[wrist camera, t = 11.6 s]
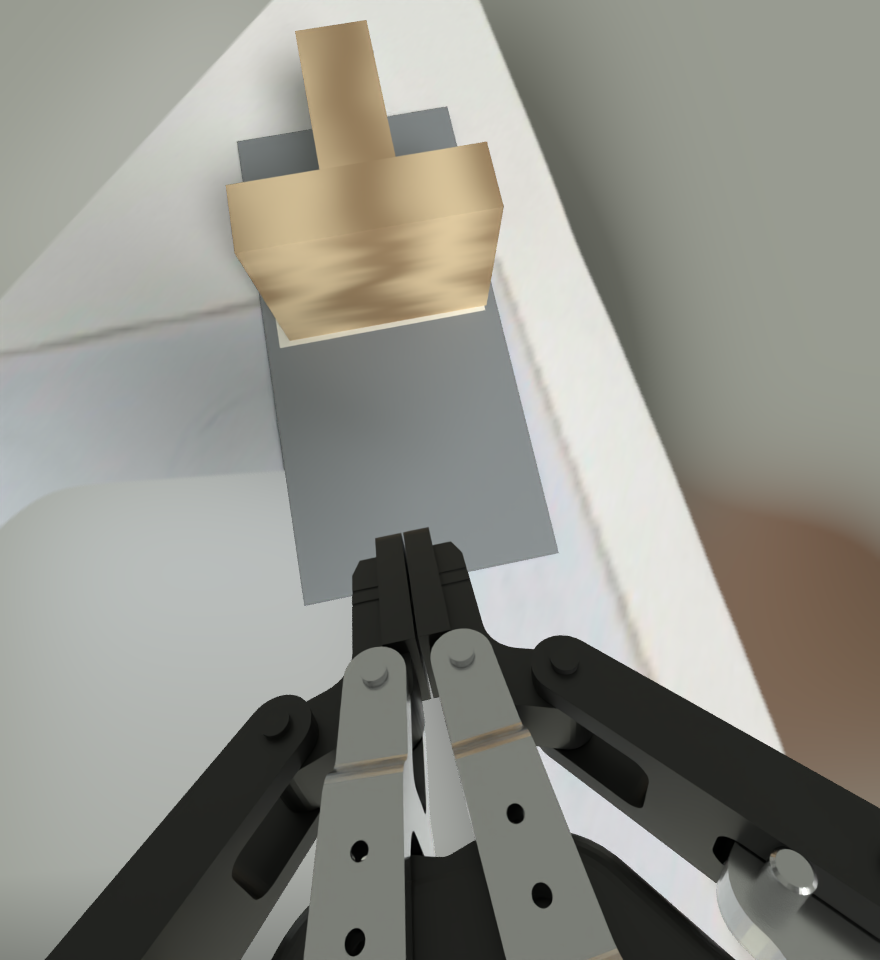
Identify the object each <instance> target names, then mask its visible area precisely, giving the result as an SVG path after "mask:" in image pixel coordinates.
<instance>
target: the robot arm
mask: <svg viewBox="0 0 880 960" xmlns="http://www.w3.org/2000/svg"><path fill="white" fill-rule="evenodd" d="M403 535H404V541H403V537H402V534H401V533H397V534H392V535H388V536H383V537H378V538H375V547H376V557H374V558H370V559H365V560H360V561H359V563H358V565H357V567H356V569H355V571H354V573H353V575H352V593H353V594H352V605H353V607H352V630H353V631H352V640H353V642H352V644H353V646H352V648H353V654H352V661H351V662H350V663H349V665H348V666H347V668H346V671H345V674H344V676H343V678H342V679H341V680H340V681H339V682H338V683H337V684H335V685H334V686H333V687H332V688H330V689H328V690H327V691H325V692H323V693H322V694H320V695H318V696H316V697H314V698H312V699H310V700H309V701H307V702H306V701H305V700H303V699H302V698H301V697H298V696H295V695H283V696H279V697H276V698H274V699H271V700H269V701H268V702H266V703H265V704H263V705H262V706H261V707H260V708H258V709H257V711H256V712H255V713H254V714H253V715H252V716H251V717H250V718H249V720H248V721H247V722H246V723H245V724H244V726H243V727H242V728H241V729H240V730H239V731H238V733H237V734H236V735H235V736H234V737H233V739H232V740H231V741H230V742H229V743H228V744H227V746H226V747H225V748H224V749H223V750H222V752H221V753H220V754H219V755H218V756H217V758H216V759H215V760H214V761H213V762H212V763H211V764H210V766H209V767H208V768H207V769H206V771H205V772H204V773H203V774H202V775H201V776H200V777H199V779H198V780H197V781H196V782H195V783H194V785H193V786H192V787H191V788H190V789H189V790H188V792H187V793H186V794H185V795H184V796H183V798H182V799H181V800H180V801H179V802H178V803H177V805H176V806H175V807H174V808H173V809H172V811H171V812H170V813H169V814H168V815H167V816H166V818H165V819H164V820H163V821H162V822H161V823H160V825H159V826H158V827H157V828H156V829H155V831H154V832H153V833H152V834H151V835H150V836H149V838H148V839H147V840H146V841H145V842H144V843H143V845H142V846H141V847H140V848H139V849H138V850H137V852H136V853H135V854H134V855H133V856H132V858H131V859H130V860H129V861H128V862H127V863H126V865H125V866H124V867H123V868H122V869H121V871H120V872H119V873H118V874H117V875H116V876H115V878H114V879H113V880H112V881H111V882H110V883H109V885H108V886H107V887H106V888H105V889H104V891H103V892H102V893H101V894H100V895H99V897H98V898H97V899H96V900H95V901H94V902H93V904H92V905H91V906H90V907H89V908H88V909H87V911H86V912H85V913H84V914H83V915H82V917H81V918H80V919H79V920H78V921H77V922H76V924H75V925H74V926H73V927H72V928H71V929H70V931H69V932H68V933H67V934H66V935H65V937H64V938H63V939H62V940H61V941H60V943H59V944H58V945H57V946H56V947H55V948H54V950H53V951H52V952H51V953H50V954H49V956H48V957H47V958H46V959H45V960H241V958H242V957H243V955H244V953H245V952H246V950H247V949H248V947H249V945H250V944H251V942H252V941H253V939H254V937H255V936H256V934H257V933H258V931H259V929H260V928H261V926H262V924H263V923H264V921H265V920H266V918H267V917H268V915H269V913H270V912H271V910H272V909H273V907H274V905H275V904H276V902H277V901H278V899H279V897H280V896H281V894H282V892H283V891H284V889H285V888H286V886H287V885H288V883H289V881H290V880H291V878H292V876H293V875H294V873H295V872H296V870H297V869H298V867H299V865H300V864H301V862H302V860H303V859H304V857H305V856H306V854H307V853H308V851H309V849H310V848H311V846H312V845H313V843H314V841H315V840H316V838H317V845H316V853H315V861H314V870H313V879H312V888H311V897H310V905H309V906H308V907H307V908H306V909H305V910H304V912H303V913H302V914H301V915H300V916H299V918H298V919H297V920H296V921H295V922H294V924H293V925H292V927H291V928H290V929H289V931H288V932H287V934H286V935H285V937H284V938H283V940H282V942H281V943H280V945H279V947H278V949H277V950H276V952H275V954H274V956H273V958H272V959H271V960H735V959H734V958H733V957H732V956H730V955H729V954H728V953H727V952H726V951H725V950H724V949H722V948H721V947H720V946H719V945H718V944H717V943H716V942H714V941H713V940H712V939H711V938H710V937H709V936H708V935H706V934H705V933H704V932H703V931H702V930H701V929H700V928H698V927H697V926H696V925H695V924H694V923H693V922H692V921H690V920H689V919H688V918H687V917H686V916H685V915H684V914H682V913H681V912H680V911H679V910H678V909H677V908H676V907H674V906H673V905H672V904H671V903H670V902H669V901H668V900H666V899H665V898H664V897H663V896H662V895H661V894H660V893H658V892H657V891H656V890H655V889H654V888H653V887H652V886H651V885H649V884H648V883H647V882H646V881H645V880H644V879H643V878H641V877H640V876H639V875H638V874H637V873H636V872H635V871H633V870H632V869H631V868H630V867H629V866H628V865H627V864H625V863H624V862H623V861H622V860H621V859H619V858H618V857H617V856H616V855H614V854H613V853H611V852H610V851H609V850H607V849H606V848H604V847H603V846H601V845H599V844H597V843H595V842H593V841H591V840H589V839H587V838H584V837H582V836H579V835H576V834H572V833H570V830H569V828H568V825H567V823H566V820H565V818H564V815H563V813H562V810H561V808H560V805H559V803H558V800H557V798H556V795H555V793H554V790H553V788H552V785H551V783H550V780H549V778H548V775H547V773H546V770H545V768H544V765H543V763H542V760H541V758H540V755H539V753H538V750H537V747H536V746H540V748H541V749H542V750H543V751H544V752H545V753H546V754H547V755H548V756H549V757H551V758H552V759H553V760H555V761H556V762H557V763H559V764H560V765H561V766H563V767H564V768H565V769H567V770H568V771H569V772H571V773H572V774H573V775H574V776H576V777H577V778H578V779H580V780H581V781H582V782H584V783H585V784H586V785H588V786H589V787H590V788H592V789H593V790H594V791H596V792H597V793H598V794H599V795H601V796H602V797H603V798H605V799H606V800H607V801H609V802H610V803H611V804H613V805H614V806H615V807H617V808H618V809H619V810H621V811H622V812H623V813H625V814H626V815H627V816H628V817H630V818H631V819H632V820H634V821H635V822H636V823H638V824H639V825H640V826H642V827H643V828H644V829H646V830H647V831H648V832H650V833H651V834H652V835H653V836H655V837H656V838H657V839H659V840H660V841H661V842H663V843H664V844H665V845H667V846H668V847H669V848H671V849H672V850H673V851H675V852H676V853H677V854H679V855H680V856H681V857H682V858H684V859H685V860H686V861H688V862H689V863H690V864H692V865H693V866H694V867H696V868H697V869H698V870H700V871H701V872H702V873H704V874H705V875H706V876H707V877H709V878H710V879H711V880H713V881H714V882H715V883H717V889H716V893H717V901H718V906H719V909H720V912H721V915H722V917H723V919H724V921H725V923H726V925H727V927H728V929H729V930H730V932H731V933H732V935H733V936H734V937H735V938H736V940H737V941H738V942H739V943H740V944H741V945H742V946H743V947H744V948H745V949H746V950H747V951H748V952H749V953H750V954H751V955H752V956H753V957H754V958H755V959H756V960H880V808H878V807H876V806H875V805H873V804H871V803H869V802H868V801H866V800H864V799H862V798H860V797H858V796H857V795H855V794H853V793H851V792H850V791H848V790H846V789H844V788H843V787H841V786H839V785H837V784H835V783H834V782H832V781H830V780H828V779H826V778H825V777H823V776H821V775H820V774H818V773H816V772H814V771H812V770H810V769H809V768H807V767H805V766H803V765H802V764H800V763H798V762H796V761H795V760H793V759H791V758H789V757H787V756H786V755H784V754H782V753H780V752H779V751H777V750H775V749H773V748H771V747H770V746H768V745H766V744H764V743H763V742H761V741H759V740H757V739H755V738H754V737H752V736H750V735H748V734H747V733H745V732H743V731H741V730H739V729H738V728H736V727H734V726H732V725H731V724H729V723H727V722H725V721H723V720H722V719H720V718H718V717H716V716H715V715H713V714H711V713H709V712H707V711H706V710H704V709H702V708H700V707H699V706H697V705H695V704H693V703H691V702H690V701H688V700H686V699H684V698H682V697H681V696H679V695H677V694H675V693H674V692H672V691H670V690H668V689H666V688H665V687H663V686H661V685H659V684H658V683H656V682H654V681H652V680H650V679H649V678H647V677H645V676H643V675H642V674H640V673H638V672H636V671H634V670H633V669H631V668H629V667H627V666H626V665H624V664H622V663H620V662H618V661H617V660H615V659H613V658H611V657H610V656H608V655H606V654H604V653H602V652H601V651H599V650H597V649H595V648H594V647H592V646H590V645H588V644H586V643H585V642H583V641H581V640H579V639H577V638H574V637H571V636H562V635H559V636H552V637H549V638H547V639H544V640H543V641H541V642H540V643H539V644H538V645H537V646H536V647H535V649H523V648H513V647H508V646H505V645H503V644H500V643H498V642H497V641H495V640H494V639H493V638H491V637H490V636H489V634H488V633H487V632H486V630H485V629H484V626H483V623H482V620H481V616H480V613H479V609H478V606H477V602H476V599H475V595H474V592H473V588H472V585H471V582H470V578H469V574H468V571H467V568H466V564H465V560H464V557H463V553H462V552H461V551H460V550H459V549H458V548H457V547H456V546H455V545H454V544H453V543H452V542H451V541H450V542H445V543H440V544H435V545H432V540H431V536H430V531H429V527H425V528H421V529H416V530H411V531H406V532H403ZM404 542H405V545H404ZM427 674H428V675H427ZM428 678H429V681H430V685H431V689H432V693H433V697H434V698H437V697H440V701H441V705H442V709H443V714H444V717H445V722H446V726H447V730H448V734H449V738H450V741H451V746H452V750H453V754H454V757H455V762H456V766H457V770H458V774H459V778H460V781H461V786H462V789H463V793H464V798H465V801H466V805H467V809H468V814H469V817H470V821H471V825H472V830H473V834H474V838H475V841H473V842H471V843H469V844H468V845H466V846H464V847H463V848H461V849H459V850H458V851H456V852H454V853H453V854H451V855H449V856H446V857H435V849H434V841H433V835H432V829H431V821H430V807H429V789H428V773H427V753H426V735H425V729H424V726H425V722H424V713H423V705H422V701H424V700H428V699H431V695H430V689H429V682H428Z"/></svg>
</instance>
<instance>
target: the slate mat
mask: <svg viewBox="0 0 880 960" xmlns="http://www.w3.org/2000/svg"><path fill="white" fill-rule="evenodd" d="M387 119H388V123H389V128H390V133H391V137H392V142H393V147H394V151H395V156H396V157H398V156H404V155H410V154H416V153H422V152H428V151H434V150H440V149H446V148H452V147H457V144H456V140H455V136H454V132H453V128H452V124H451V120H450V116H449V112H448V108H447V107H442V108H436V109H430V110H424V111H418V112H412V113H406V114H400V115H394V116H388V117H387ZM237 143H238V150H239V157H240V164H241V171H242V178H243V182H248V181H254V180H260V179H266V178H272V177H278V176H284V175H290V174H296V173H302V172H308V171H314V170H320V169H319V164H318V158H317V152H316V147H315V141H314V135H313V130H312V129H310V130H304V131H298V132H292V133H286V134H280V135H274V136H268V137H262V138H256V139H250V140H244V141H238V142H237ZM259 295H260V302H261V309H262V316H263V323H264V330H265V337H266V344H267V350H268V357H269V364H270V371H271V378H272V385H273V392H274V399H275V406H276V413H277V420H278V426H279V433H280V440H281V447H282V454H283V461H284V468H285V475H286V482H287V488H288V495H289V502H290V509H291V516H292V523H293V530H294V537H295V543H296V551H297V558H298V565H299V571H300V579H301V585H302V592H303V599H304V605H305V606H306V605H311V604H316V603H321V602H326V601H330V600H335V599H339V598H345V597H349V596H352V594H353V593H352V575H353V573H354V571H355V569H356V567H357V565H358V563H359V561H360V560H365V559H370V558H374V557H376V547H375V538H378V537H383V536H388V535H392V534H397V533H401V534H402V537H403V541H404V535H403V532H406V531H411V530H416V529H421V528H425V527H429V531H430V536H431V540H432V545H435V544H440V543H445V542H450V541H451V542H452V543H453V544H454V545H455V546H456V547H457V548H458V549H459V550H460V551H461V552H462V553H463V557H464V560H465V564H466V568H467V571H468V572H470V571H475V570H479V569H484V568H489V567H494V566H499V565H503V564H508V563H513V562H518V561H523V560H527V559H532V558H537V557H542V556H547V555H551V554H556V553H559V552H558V548H557V544H556V540H555V536H554V532H553V528H552V524H551V520H550V516H549V512H548V508H547V504H546V500H545V496H544V492H543V488H542V484H541V480H540V476H539V472H538V468H537V464H536V460H535V456H534V452H533V448H532V444H531V440H530V436H529V432H528V428H527V424H526V420H525V416H524V412H523V408H522V404H521V400H520V396H519V392H518V388H517V384H516V380H515V376H514V372H513V368H512V364H511V360H510V356H509V352H508V348H507V344H506V340H505V336H504V332H503V328H502V324H501V320H500V316H499V312H498V308H497V304H496V300H495V296H494V292H493V288H492V284H491V282H490V288H489V293H488V299H487V305H485V306H480V307H474V308H469V309H463V310H458V311H452V312H447V313H441V314H436V315H430V316H424V317H419V318H413V319H408V320H402V321H397V322H391V323H386V324H380V325H375V326H369V327H364V328H358V329H353V330H347V331H342V332H336V333H331V334H325V335H320V336H314V337H309V338H303V339H297V340H292V341H289V339H288V337H287V336H286V334H285V333H284V331H283V329H282V328H281V326H280V325H279V323H278V321H277V320H276V318H275V317H274V315H273V313H272V312H271V310H270V309H269V307H268V305H267V304H266V302H265V301H264V299H263V297H262V296H261V294H260V293H259ZM404 545H405V542H404Z"/></svg>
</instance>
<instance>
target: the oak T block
mask: <svg viewBox="0 0 880 960" xmlns="http://www.w3.org/2000/svg"><path fill="white" fill-rule="evenodd" d="M295 34H296V39H297V45H298V51H299V56H300V62H301V68H302V73H303V79H304V85H305V90H306V96H307V102H308V107H309V113H310V118H311V124H312V130H313V135H314V141H315V147H316V152H317V158H318V164H319V169H320V170H314V171H308V172H302V173H296V174H290V175H284V176H278V177H272V178H266V179H260V180H254V181H248V182H242V183H236V184H230V185H226V191H227V198H228V206H229V214H230V221H231V229H232V236H233V244H234V252H235V254H236V256H237V258H238V259H239V261H240V262H241V264H242V266H243V267H244V269H245V270H246V272H247V274H248V275H249V277H250V278H251V280H252V282H253V283H254V285H255V286H256V288H257V290H258V291H259V293H260V294H261V296H262V297H263V299H264V301H265V302H266V304H267V305H268V307H269V309H270V310H271V312H272V313H273V315H274V317H275V318H276V320H277V321H278V323H279V325H280V326H281V328H282V329H283V331H284V333H285V334H286V336H287V337H288V339H289V341H292V340H297V339H303V338H309V337H314V336H320V335H325V334H331V333H336V332H342V331H347V330H353V329H358V328H364V327H369V326H375V325H380V324H386V323H391V322H397V321H402V320H408V319H413V318H419V317H424V316H430V315H436V314H441V313H447V312H452V311H458V310H463V309H469V308H474V307H480V306H485V305H487V299H488V293H489V288H490V282H491V276H492V270H493V265H494V259H495V253H496V248H497V242H498V236H499V230H500V225H501V219H502V213H503V207H504V206H503V202H502V198H501V195H500V191H499V187H498V183H497V179H496V175H495V171H494V168H493V164H492V160H491V156H490V152H489V148H488V145H487V142H482V143H476V144H470V145H464V146H458V147H452V148H446V149H440V150H434V151H428V152H422V153H416V154H410V155H404V156H398V157H396V156H395V151H394V147H393V142H392V137H391V133H390V128H389V123H388V119H387V114H386V109H385V105H384V100H383V95H382V91H381V86H380V81H379V77H378V72H377V67H376V63H375V58H374V53H373V49H372V44H371V39H370V35H369V30H368V25H367V21H366V20H364V21H357V22H351V23H345V24H338V25H332V26H325V27H319V28H312V29H306V30H299V31H295Z"/></svg>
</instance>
